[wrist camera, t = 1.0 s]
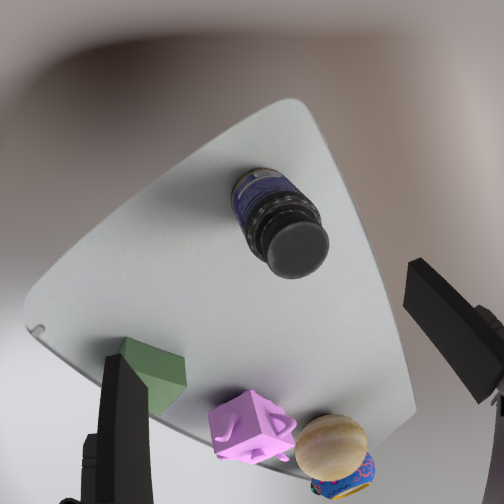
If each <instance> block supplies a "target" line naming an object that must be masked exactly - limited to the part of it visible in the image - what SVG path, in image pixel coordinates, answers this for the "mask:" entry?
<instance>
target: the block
mask: <svg viewBox="0 0 504 504" xmlns="http://www.w3.org/2000/svg"><path fill="white" fill-rule="evenodd" d="M119 353H121V354H122V356H123V357H124V358H125V360H126V361H127V362H128V363H129V365H130V366H131V367H132V369H133V370H134V371H135V372H136V374H137V375H138V376H139V377H140V379H141V380H142V381H143V382H144V383H145V385H146V386H147V387H148V411H149V413H152V414H156V415H159V416H160V415H161V414H162V413H163V412H164V411H165V410H166V409H167V408H168V407H169V405H170V404H171V403H172V402H173V401H174V400H175V399H176V398H177V397H178V396H179V395H180V394H181V393H182V392H183V390H184V389H185V388H186V387H187V382H186V371H185V360H184V358H183V357H180V356H177V355H174V354H172V353H169V352H166V351H163V350H160V349H157V348H155V347H152V346H149V345H147V344H144V343H141V342H139V341H136V340H133V339H131V338H128V337H126V339H125V341H124V343H123V344H122V346H121V348H120V349H119V351H118V353H117V354H119Z"/></svg>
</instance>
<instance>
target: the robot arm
mask: <svg viewBox="0 0 504 504" xmlns="http://www.w3.org/2000/svg"><path fill="white" fill-rule="evenodd" d="M403 307H404V308H405V309H406V310H407V312H408V313H409V314H410V315H411V316H412V318H413V319H414V320H415V321H416V323H417V324H418V325H419V326H420V327H421V329H422V330H423V331H424V332H425V334H426V335H427V336H428V337H429V339H430V340H431V341H432V343H433V344H434V345H435V346H436V348H437V349H438V350H439V352H440V353H441V354H442V355H443V357H444V358H445V359H446V360H447V362H448V363H449V365H450V366H451V367H452V368H453V370H454V371H455V372H456V374H457V375H458V377H459V378H460V379H461V381H462V382H463V383H464V385H465V386H466V387H467V389H468V390H469V392H470V393H471V394H472V396H473V397H474V399H475V400H476V402H477V403H478V404H480V403H481V402H482V401H484V400H485V399H486V398H488V397H489V396H490V395H491V394H492V393H493V391H494V390H495V388H497V389H498V390H499V392H498V393H497V394H496V396H495V397H494V398H493V400H492V402H491V406H493V405H494V403H495V402H496V401H497V404H496V406H497V411H496V423H495V433H494V442H493V449H492V456H491V463H490V469H489V474H488V479H487V484H486V488H485V493H484V497H483V501H482V504H504V326H503V324H502V323H501V322H500V321H499V320H497V318H496V317H495V315H493V313H492V312H491V311H490V310H488V309H486V308H484V307H483V306H481V305H478V306H476V307H475V308H473V307H472V306H471V305H470V304H469V303H468V302H467V301H466V300H465V299H464V298H463V297H462V296H461V295H460V294H459V293H458V292H457V291H456V290H455V289H454V288H453V287H452V286H451V285H450V284H449V283H448V282H447V281H446V280H445V279H444V278H443V277H442V276H441V275H439V274H438V273H437V272H436V271H435V270H434V269H433V268H432V267H431V266H430V265H429V264H428V263H427V262H425V261H424V260H423V259H422V258H418V259H416V260H413V261H411V262H409V263H408V270H407V279H406V288H405V295H404V303H403ZM82 467H83V468H82V475H81V501H78V500H75V499H73V498H65V499H64V500H62V501H61V502H60V503H59V504H154V502H153V492H152V480H151V466H150V446H149V411H148V387H147V386H146V385H145V383H144V382H143V381H142V380H141V379H140V377H139V376H138V375H137V374H136V372H135V371H134V370H133V369H132V367H131V366H130V365H129V363H128V362H127V361H126V360H125V358H124V357H123V356H122V354H121V353H119V354H115V355H111V356H106V360H105V367H104V374H103V381H102V389H101V398H100V407H99V418H98V430H97V433H96V434H88V436H87V438H86V440H85V443H84V445H83V459H82Z"/></svg>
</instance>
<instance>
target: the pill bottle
mask: <svg viewBox="0 0 504 504" xmlns="http://www.w3.org/2000/svg"><path fill="white" fill-rule="evenodd" d="M231 200H232V209H233V211H234V213H235V215H236V218H237V220H238V223H239V225H240V227H241V229H242V232H243V234H244V236H245V239H246V241H247V243H248V245H249V248H250V249H251V251H252V252H253V254H254V255H255V256H256V257H257V258H259V259H260V260H261V261H263V262H265V263H267V264H268V266H269V268H270V269H271V271H272V272H274V273H275V274H276V275H277V276H279V277H282V278H286V279H299V278H302V277H304V276H307V275H310V274H311V273H313V272H314V271H315V270H317V269H318V268H319V267H320V266H321V265H322V263H323V262H324V260H325V258H326V256H327V254H328V250H329V238H328V235H327V233H326V231H325V230H324V229H323V227H322V224H321V217H320V214H319V212H318V210H317V208H316V207H315V206H314V204H313V203H312V202H311V201H310V200H309V199H308V198H307V197H306V196H305V195H304V194H303V193H302V192H301V191H299V189H298V188H296V187H295V186H294V185H293V184H292V183H291V182H290V181H289V180H288V179H287V178H286V177H285V176H284V175H282V174H281V173H280V172H278V171H276V170H273V169H268V168H259V169H255V170H251V171H249V172H248V173H246V174H244V175H243V176H242V177H241V178H240V179H239V180H238V181H237V182H236V184H235V186H234V188H233V190H232V194H231Z"/></svg>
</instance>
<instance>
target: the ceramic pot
mask: <svg viewBox="0 0 504 504" xmlns="http://www.w3.org/2000/svg"><path fill="white" fill-rule="evenodd" d="M374 474H375V467H374V462H373V459H372V457H371V456H370V454H369V453H368V452H367V453H366V456H365V458H364V460H363V462H362V464H361V465H360V466H359V468H358V469H357V470H356V471H355V472H353V473H352V474H350V475H349V476H347V477H345V478H343V479H340V480H336V481H320V480H317V479H314V478H312V482H311V490H312V491H313V493H315V494H317V495H323V496H324V497H326V498H329V499H332V500H334V499H339V498H343V497H346V496H348V495H351V494H353V493H356V492H358V491H360V490H362V489H363V488H365V487H367V486H368V485H370V483H371V482H372V480H373V478H374Z"/></svg>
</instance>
